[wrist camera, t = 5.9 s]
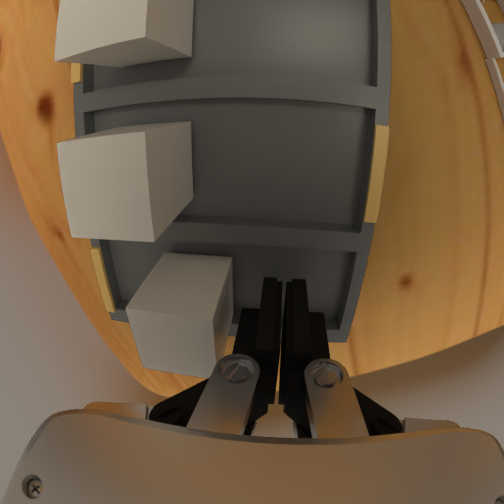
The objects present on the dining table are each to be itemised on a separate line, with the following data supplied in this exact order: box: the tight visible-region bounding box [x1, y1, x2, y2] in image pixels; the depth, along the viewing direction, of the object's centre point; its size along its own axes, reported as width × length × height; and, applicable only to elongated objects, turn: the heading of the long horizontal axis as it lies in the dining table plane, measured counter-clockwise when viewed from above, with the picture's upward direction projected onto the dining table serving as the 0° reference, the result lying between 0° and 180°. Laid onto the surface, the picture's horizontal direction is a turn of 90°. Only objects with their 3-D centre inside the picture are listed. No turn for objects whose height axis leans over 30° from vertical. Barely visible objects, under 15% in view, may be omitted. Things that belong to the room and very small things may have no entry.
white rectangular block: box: [54, 0, 194, 68], centre depth 7 cm, size 3×3×4 cm
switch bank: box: [71, 0, 391, 342], centre depth 12 cm, size 12×16×4 cm
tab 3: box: [126, 253, 233, 378], centre depth 12 cm, size 3×3×4 cm
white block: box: [57, 121, 193, 242], centre depth 9 cm, size 3×3×4 cm
